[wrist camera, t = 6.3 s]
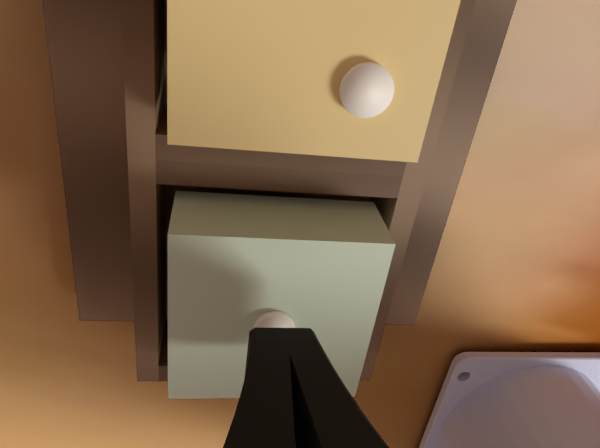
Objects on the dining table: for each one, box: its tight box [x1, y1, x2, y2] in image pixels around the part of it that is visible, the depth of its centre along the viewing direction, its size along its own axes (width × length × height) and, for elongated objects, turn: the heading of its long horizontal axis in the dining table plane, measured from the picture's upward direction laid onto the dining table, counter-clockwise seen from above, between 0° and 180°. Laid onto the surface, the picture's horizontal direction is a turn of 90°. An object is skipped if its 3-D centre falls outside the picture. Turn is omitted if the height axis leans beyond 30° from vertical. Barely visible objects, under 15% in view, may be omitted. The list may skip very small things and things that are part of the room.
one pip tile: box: [168, 191, 396, 399], centre depth 13 cm, size 5×5×2 cm
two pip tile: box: [167, 0, 461, 163], centre depth 9 cm, size 5×5×2 cm
